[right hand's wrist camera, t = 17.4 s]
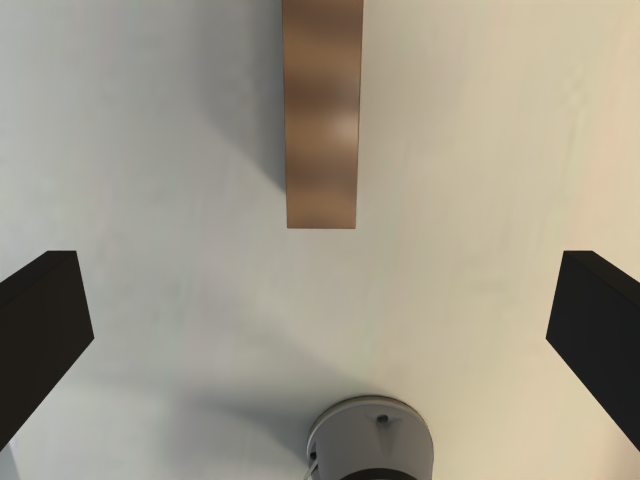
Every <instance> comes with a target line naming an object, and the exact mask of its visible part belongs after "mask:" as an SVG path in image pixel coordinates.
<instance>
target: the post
mask: <svg viewBox="0 0 640 480" xmlns="http://www.w3.org/2000/svg"><path fill="white" fill-rule="evenodd" d="M362 25H363V0H282V30H283V74H284V117H285V161H286V204H287V228H303V229H355V226H356V197H357V169H358V140H359V111H360V82H361V54H362Z"/></svg>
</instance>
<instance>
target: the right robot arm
mask: <svg viewBox="0 0 640 480" xmlns="http://www.w3.org/2000/svg"><path fill="white" fill-rule="evenodd" d="M93 339H94V334H93V329H92V324H91V320H90V315H89V310H88V305H87V300H86V295H85V291H84V286H83V281H82V276H81V271H80V267H79V262H78V257H77V252H76V251H47V252H45V253H44V254H42V255H41V256H39V257H38V258H36V259H35V260H33V261H32V262H30V263H29V264H27V265H26V266H24V267H23V268H21V269H20V270H18V271H17V272H16V273H14V274H13V275H11V276H10V277H8V278H7V279H5V280H4V281H2V282H1V283H0V452H1V450H2V449H3V448H4V447H5V446H6V444H7V443H8V442H9V441H10V440H11V438H12V437H13V436H14V435H15V434H16V432H17V431H18V430H19V429H20V428H21V426H22V425H23V424H24V423H25V421H26V420H27V419H28V418H29V417H30V415H31V414H32V413H33V412H34V411H35V409H36V408H37V407H38V406H39V405H40V403H41V402H42V401H43V400H44V399H45V397H46V396H47V395H48V394H49V393H50V391H51V390H52V389H53V388H54V387H55V385H56V384H57V383H58V382H59V380H60V379H61V378H62V377H63V376H64V374H65V373H66V372H67V371H68V370H69V368H70V367H71V366H72V365H73V364H74V362H75V361H76V360H77V359H78V358H79V356H80V355H81V354H82V353H83V352H84V350H85V349H86V348H87V347H88V345H89V344H90V343H91V342H92V341H93ZM546 339H547V341H548V342H549V343H550V344H551V345H552V347H553V348H554V349H555V350H556V352H557V353H558V354H559V355H560V356H561V358H562V359H563V360H564V361H565V362H566V364H567V365H568V366H569V367H570V368H571V370H572V371H573V372H574V373H575V374H576V376H577V377H578V378H579V379H580V380H581V382H582V383H583V384H584V385H585V387H586V388H587V389H588V390H589V391H590V393H591V394H592V395H593V396H594V397H595V399H596V400H597V401H598V402H599V403H600V405H601V406H602V407H603V408H604V409H605V411H606V412H607V413H608V414H609V415H610V417H611V418H612V419H613V420H614V421H615V423H616V424H617V425H618V426H619V428H620V429H621V430H622V431H623V432H624V434H625V435H626V436H627V437H628V438H629V440H630V441H631V442H632V443H633V444H634V446H635V447H636V448H637V449H638V450H639V452H640V283H639V282H638V281H636V280H635V279H633V278H632V277H630V276H629V275H627V274H626V273H624V272H623V271H622V270H620V269H619V268H617V267H616V266H614V265H613V264H611V263H610V262H608V261H607V260H605V259H604V258H602V257H601V256H599V255H598V254H596V253H595V252H593V251H564V252H563V257H562V262H561V267H560V271H559V276H558V281H557V286H556V291H555V295H554V300H553V305H552V310H551V315H550V320H549V324H548V329H547V334H546ZM307 461H308V466H309V470H308V472H307V474H306V475H305V477H304V480H307V479H308V477H309V476H310V474H311V476H312V479H313V480H432V471H433V461H434V450H433V443H432V439H431V435H430V432H429V429H428V427H427V425H426V423H425V421H424V420H423V418H422V417H421V416H420V415H419V414H418V413H417V412H416V411H415V410H413V409H412V408H411V407H409V406H407V405H405V404H403V403H401V402H399V401H396V400H393V399H389V398H384V397H374V396H368V397H359V398H353V399H349V400H346V401H343V402H341V403H339V404H337V405H335V406H333V407H331V408H330V409H328V410H327V411H326V412H324V413H323V414H322V415H321V416H320V417H319V418H318V419H317V420H316V422H315V423H314V425H313V426H312V428H311V430H310V433H309V436H308V442H307Z"/></svg>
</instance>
